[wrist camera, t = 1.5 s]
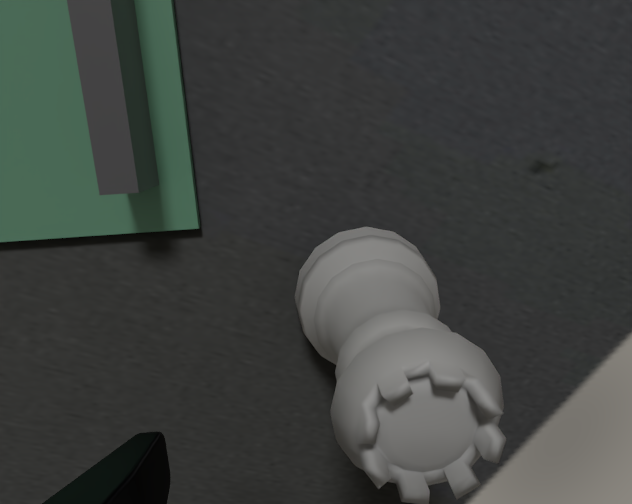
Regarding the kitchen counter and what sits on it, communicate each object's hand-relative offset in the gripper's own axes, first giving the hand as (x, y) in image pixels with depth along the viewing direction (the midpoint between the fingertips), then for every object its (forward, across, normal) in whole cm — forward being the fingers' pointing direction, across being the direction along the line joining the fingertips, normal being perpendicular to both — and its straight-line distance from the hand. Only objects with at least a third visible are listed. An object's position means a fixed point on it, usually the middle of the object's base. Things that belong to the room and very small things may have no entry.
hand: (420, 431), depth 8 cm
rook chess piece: (+8, 0, 0) cm, 8 cm away
